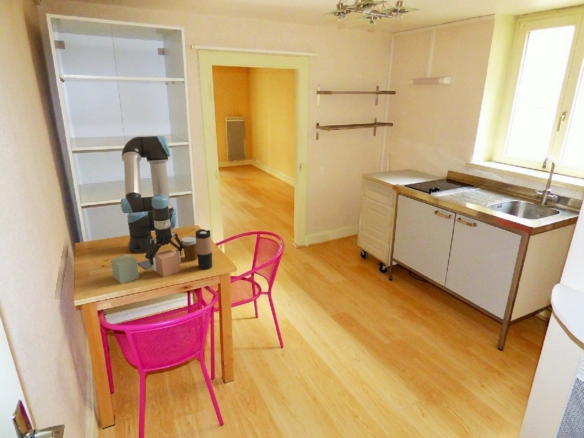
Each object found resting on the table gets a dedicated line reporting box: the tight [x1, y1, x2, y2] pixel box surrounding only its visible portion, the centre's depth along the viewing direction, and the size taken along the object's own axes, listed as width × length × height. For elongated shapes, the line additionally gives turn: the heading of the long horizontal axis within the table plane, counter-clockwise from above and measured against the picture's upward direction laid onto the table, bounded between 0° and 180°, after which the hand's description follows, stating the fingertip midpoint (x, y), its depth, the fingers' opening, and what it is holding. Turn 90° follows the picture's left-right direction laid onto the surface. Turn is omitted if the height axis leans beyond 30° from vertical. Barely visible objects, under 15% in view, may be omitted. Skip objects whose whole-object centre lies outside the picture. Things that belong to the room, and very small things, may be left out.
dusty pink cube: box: [154, 248, 181, 278], centre depth 191 cm, size 9×9×10 cm
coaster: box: [137, 259, 152, 270], centre depth 201 cm, size 10×10×1 cm
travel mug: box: [195, 229, 213, 271], centre depth 195 cm, size 8×8×20 cm
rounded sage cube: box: [110, 253, 140, 285], centre depth 184 cm, size 9×9×10 cm
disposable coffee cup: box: [180, 235, 198, 262], centre depth 205 cm, size 10×10×12 cm
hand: (167, 266), depth 191 cm, fingers open, 13 cm apart
